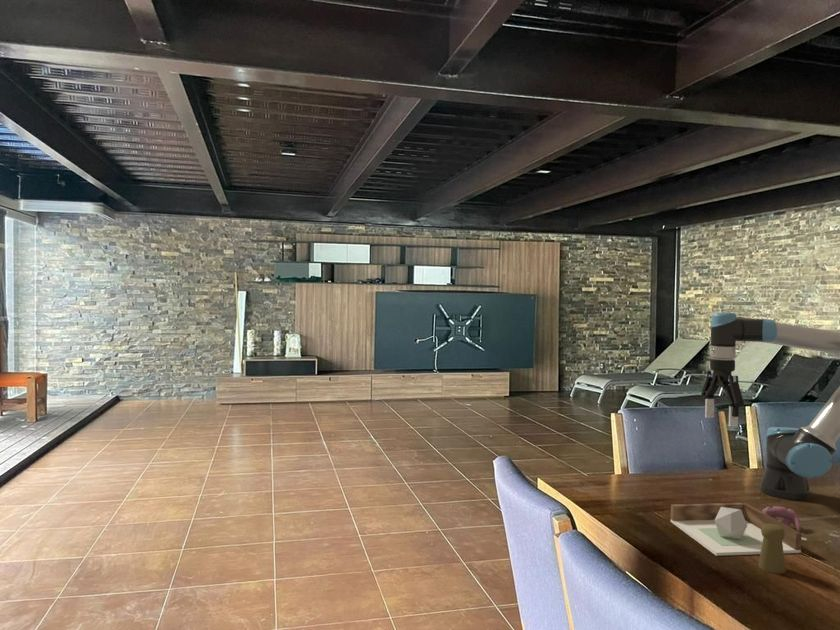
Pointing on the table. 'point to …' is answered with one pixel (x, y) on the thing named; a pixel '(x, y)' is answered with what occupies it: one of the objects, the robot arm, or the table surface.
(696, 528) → the wooden corner tray
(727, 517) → the die
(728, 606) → the table surface
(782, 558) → the olive pawn figure
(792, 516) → the video game controller
